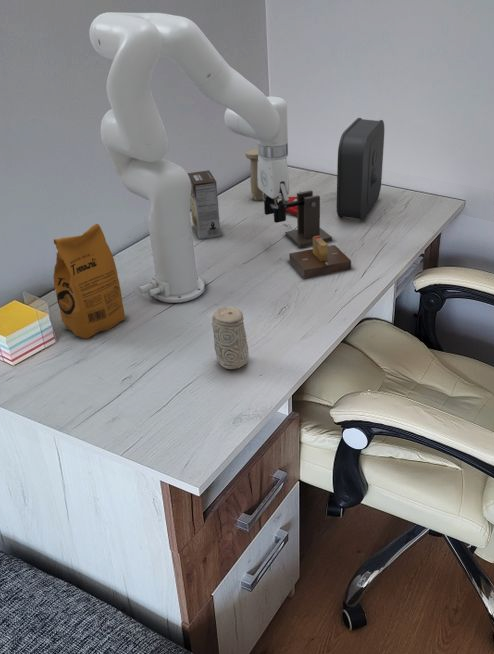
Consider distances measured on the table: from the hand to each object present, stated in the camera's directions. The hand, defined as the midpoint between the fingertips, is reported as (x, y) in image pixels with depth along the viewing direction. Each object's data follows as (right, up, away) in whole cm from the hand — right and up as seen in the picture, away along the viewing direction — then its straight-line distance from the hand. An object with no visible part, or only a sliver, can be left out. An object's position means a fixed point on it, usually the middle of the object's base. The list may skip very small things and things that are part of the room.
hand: (275, 216), depth 177 cm
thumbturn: (+12, -11, -6) cm, 18 cm away
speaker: (+25, +7, +26) cm, 37 cm away
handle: (-8, +12, +32) cm, 35 cm away
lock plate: (+12, -14, -5) cm, 19 cm away
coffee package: (-38, -30, -28) cm, 56 cm away
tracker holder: (+6, +7, +26) cm, 27 cm away
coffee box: (-20, -2, +12) cm, 24 cm away
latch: (+5, +3, +1) cm, 6 cm away
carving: (-6, -38, -40) cm, 56 cm away
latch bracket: (+9, -4, +9) cm, 13 cm away
